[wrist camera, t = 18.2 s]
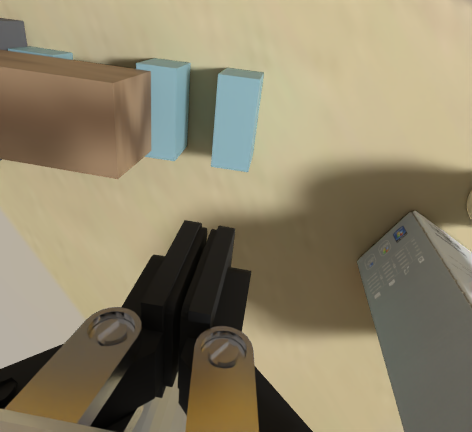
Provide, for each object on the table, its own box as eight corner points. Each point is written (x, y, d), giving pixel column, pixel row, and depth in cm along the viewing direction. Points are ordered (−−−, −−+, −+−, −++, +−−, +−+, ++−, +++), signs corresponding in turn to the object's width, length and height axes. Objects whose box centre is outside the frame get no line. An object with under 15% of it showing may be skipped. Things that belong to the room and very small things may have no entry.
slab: (151, 150, 29) (117, 178, 24) (12, 128, 30) (-49, 150, 25) (150, 71, 26) (112, 83, 21) (-3, 49, 27) (-77, 55, 22)
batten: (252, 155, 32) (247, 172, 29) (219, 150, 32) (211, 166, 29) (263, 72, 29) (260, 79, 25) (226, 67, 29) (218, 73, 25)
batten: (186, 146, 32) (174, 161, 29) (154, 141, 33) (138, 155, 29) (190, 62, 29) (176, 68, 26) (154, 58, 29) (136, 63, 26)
